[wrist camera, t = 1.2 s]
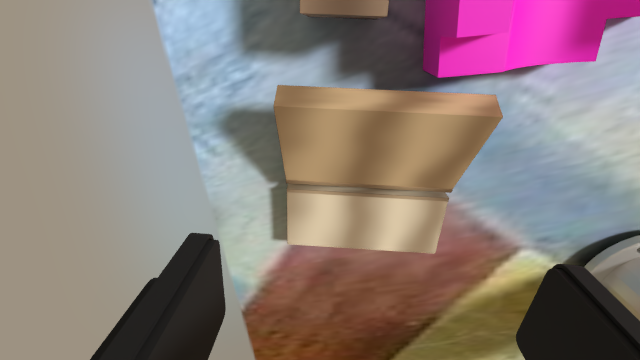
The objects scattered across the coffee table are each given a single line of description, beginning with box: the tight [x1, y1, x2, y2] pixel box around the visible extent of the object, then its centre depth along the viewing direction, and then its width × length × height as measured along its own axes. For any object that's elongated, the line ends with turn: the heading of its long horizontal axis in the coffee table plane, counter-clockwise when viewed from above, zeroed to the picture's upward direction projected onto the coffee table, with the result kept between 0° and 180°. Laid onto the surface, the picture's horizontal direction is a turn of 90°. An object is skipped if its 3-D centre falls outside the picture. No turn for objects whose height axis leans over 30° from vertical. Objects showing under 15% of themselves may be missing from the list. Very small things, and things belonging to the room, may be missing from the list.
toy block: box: [423, 0, 640, 78], centre depth 19 cm, size 15×6×8 cm, turn 96°
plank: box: [274, 85, 503, 193], centre depth 24 cm, size 14×9×2 cm
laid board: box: [287, 183, 449, 253], centre depth 29 cm, size 14×6×2 cm, turn 88°
